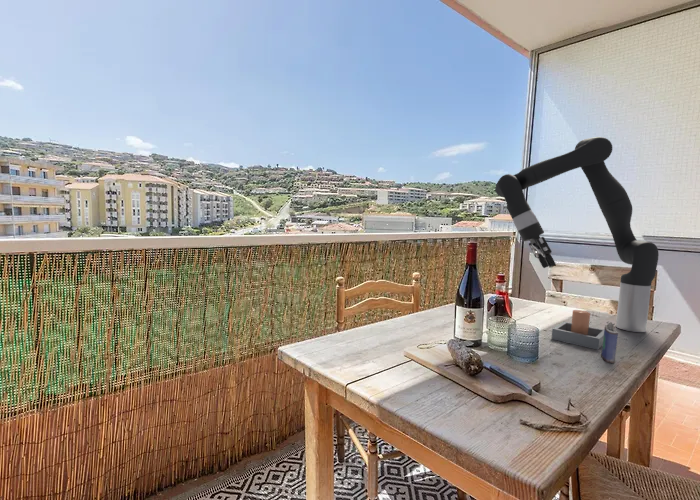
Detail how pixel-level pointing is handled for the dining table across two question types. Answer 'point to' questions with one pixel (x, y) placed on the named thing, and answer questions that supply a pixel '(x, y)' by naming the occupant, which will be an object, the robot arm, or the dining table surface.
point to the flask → (609, 343)
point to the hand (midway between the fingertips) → (549, 266)
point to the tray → (578, 336)
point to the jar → (580, 322)
